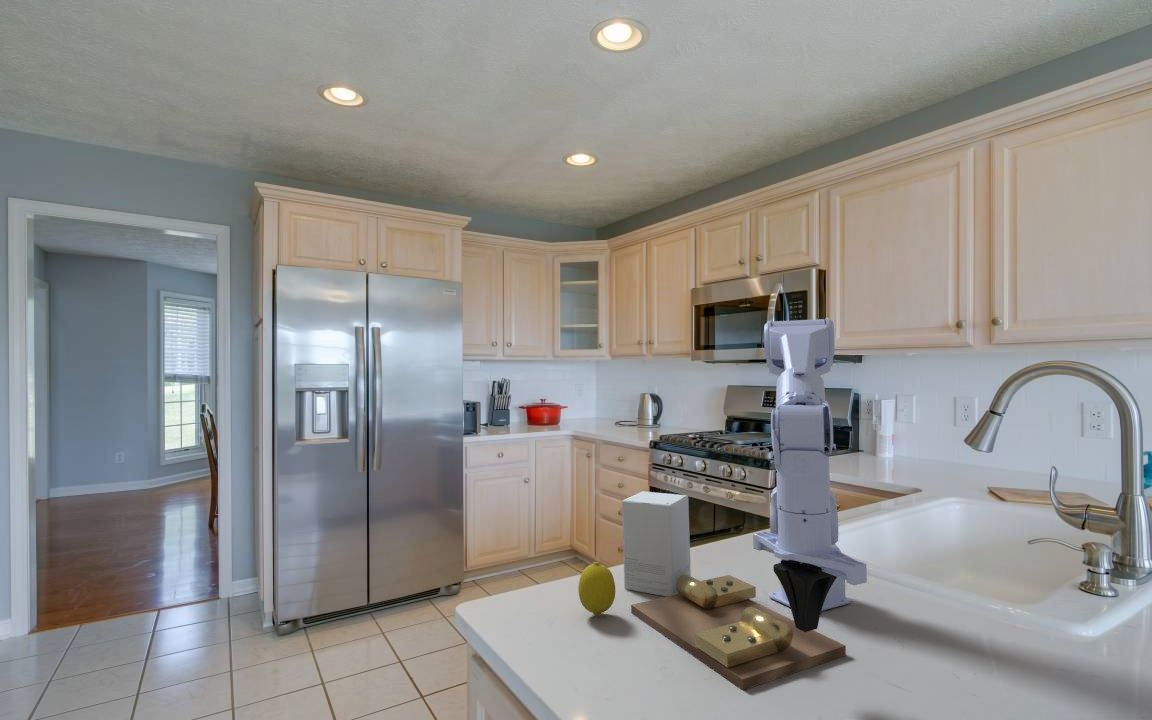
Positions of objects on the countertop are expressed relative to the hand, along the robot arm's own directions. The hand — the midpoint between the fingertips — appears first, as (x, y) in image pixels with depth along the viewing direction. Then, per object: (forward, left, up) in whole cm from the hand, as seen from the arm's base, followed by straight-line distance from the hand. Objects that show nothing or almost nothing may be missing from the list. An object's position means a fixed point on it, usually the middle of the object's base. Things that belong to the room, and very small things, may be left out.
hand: (806, 628), depth 66 cm
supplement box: (-3, -35, -7) cm, 35 cm away
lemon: (+12, -29, -7) cm, 32 cm away
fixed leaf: (-6, -24, -5) cm, 25 cm away
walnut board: (-2, -15, -7) cm, 17 cm away
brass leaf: (+2, -9, -5) cm, 10 cm away
